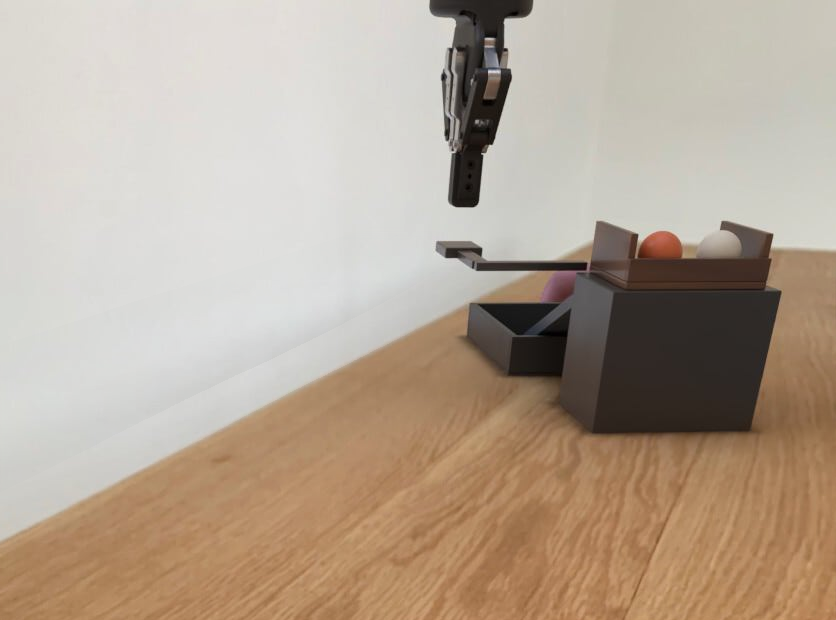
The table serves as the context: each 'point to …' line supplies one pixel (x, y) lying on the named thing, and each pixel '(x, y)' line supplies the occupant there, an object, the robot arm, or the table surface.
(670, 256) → the ball terracotta
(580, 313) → the plinth
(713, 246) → the ball cream
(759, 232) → the tipping trough with lever
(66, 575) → the table surface
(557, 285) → the video game controller
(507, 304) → the tray
